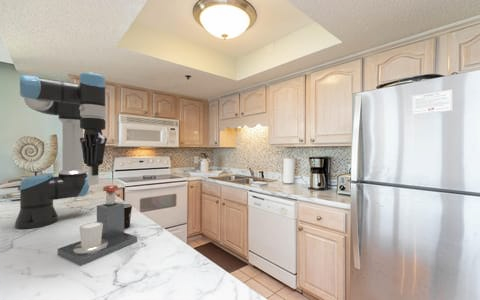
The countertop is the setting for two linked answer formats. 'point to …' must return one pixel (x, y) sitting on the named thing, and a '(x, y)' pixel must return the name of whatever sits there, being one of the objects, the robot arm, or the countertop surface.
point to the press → (110, 238)
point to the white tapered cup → (91, 234)
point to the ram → (110, 194)
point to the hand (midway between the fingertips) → (93, 184)
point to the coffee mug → (127, 215)
